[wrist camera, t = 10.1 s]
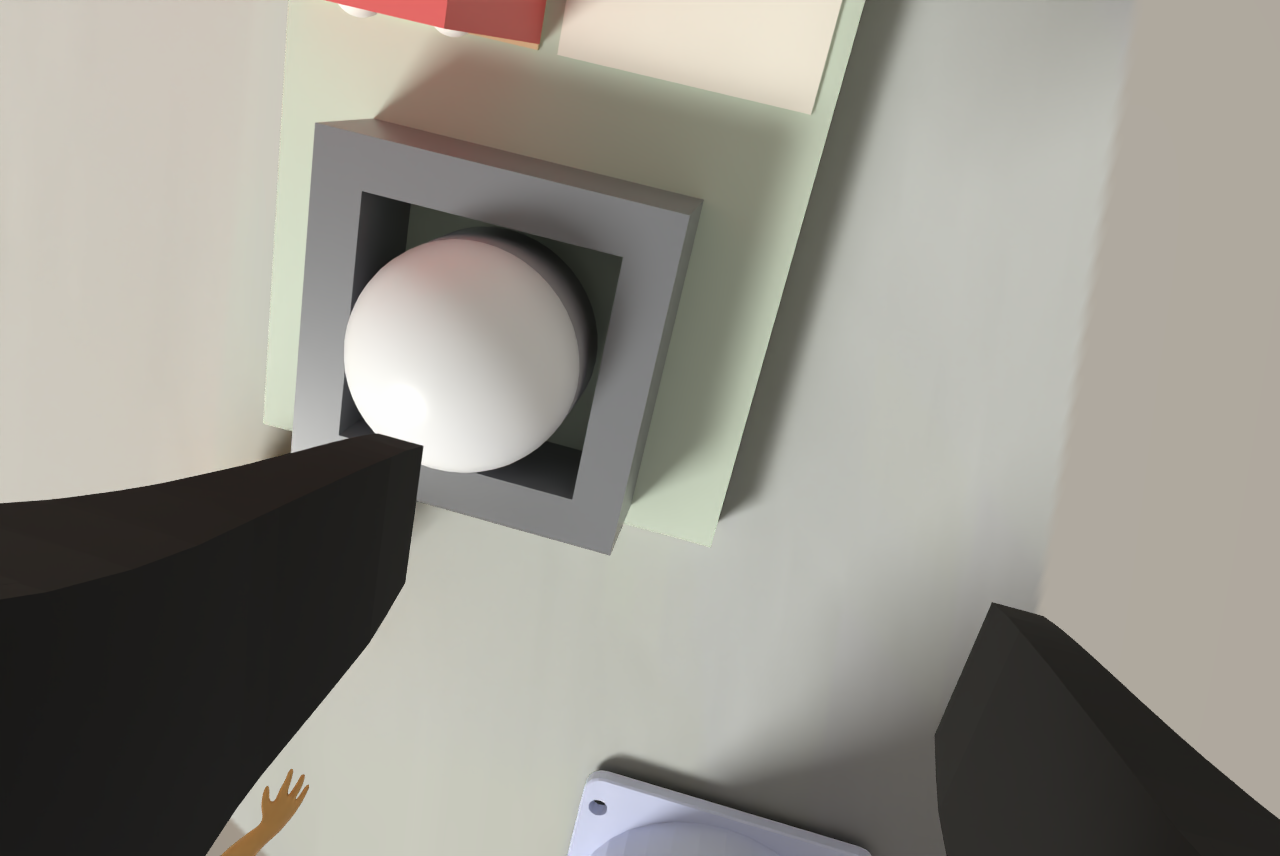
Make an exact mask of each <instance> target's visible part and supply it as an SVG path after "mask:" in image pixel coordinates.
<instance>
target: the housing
mask: <svg viewBox="0 0 1280 856" xmlns="http://www.w3.org/2000/svg"><path fill="white" fill-rule="evenodd" d="M703 202H704V200H703V199H699V198H695V197H691V196H687V195H682V194H678V193H674V192H670V191H666V190H662V189H658V188H654V187H650V186H646V185H642V184H638V183H634V182H630V181H626V180H622V179H618V178H613V177H609V176H605V175H601V174H597V173H593V172H589V171H585V170H581V169H577V168H573V167H569V166H565V165H561V164H557V163H553V162H549V161H544V160H540V159H536V158H532V157H528V156H524V155H520V154H516V153H512V152H508V151H504V150H500V149H496V148H492V147H488V146H484V145H480V144H475V143H471V142H467V141H463V140H459V139H455V138H451V137H447V136H443V135H439V134H435V133H431V132H427V131H423V130H419V129H415V128H411V127H407V126H402V125H398V124H394V123H390V122H386V121H382V120H378V119H374V118H372V119H357V120H343V121H329V122H315V130H314V144H313V158H312V171H311V185H310V198H309V212H308V226H307V239H306V253H305V267H304V280H303V294H302V307H301V321H300V335H299V348H298V362H297V376H296V389H295V403H294V416H293V430H292V444H291V453H293V452H297V451H301V450H305V449H308V448H312V447H316V446H320V445H324V444H328V443H331V442H335V441H340V440H344V439H348V438H353V437H357V436H363V435H369V434H375V433H374V431H373V430H372V429H371V428H370V426H369V425H368V424H367V423H366V421H365V420H364V418H363V417H362V415H361V413H360V412H359V410H358V408H357V406H356V404H355V402H354V400H353V398H352V395H351V392H350V389H349V387H348V383H347V378H346V374H345V365H344V340H345V334H346V328H347V325H348V321H349V318H350V315H351V312H352V310H353V308H354V306H355V303H356V301H357V299H358V297H359V295H360V294H361V292H362V291H363V289H364V288H365V286H366V285H367V284H368V282H369V281H370V280H371V279H372V278H373V277H374V276H375V275H376V273H377V272H378V271H379V270H380V269H381V268H382V267H384V266H385V265H386V264H387V263H389V262H390V261H391V260H392V259H394V258H396V257H397V256H399V255H401V254H403V253H404V252H405V250H406V242H407V233H408V224H409V216H410V207H411V204H415V205H419V206H423V207H427V208H431V209H435V210H439V211H442V212H446V213H450V214H454V215H458V216H462V217H466V218H470V219H474V220H478V221H482V222H486V223H490V224H494V225H498V226H502V227H506V228H510V229H514V230H518V231H521V232H525V233H529V234H533V235H537V236H541V237H545V238H549V239H553V240H557V241H561V242H565V243H569V244H573V245H577V246H581V247H585V248H589V249H593V250H596V251H600V252H604V253H608V254H612V255H616V256H620V257H623V260H622V265H621V270H620V275H619V279H618V284H617V289H616V294H615V298H614V303H613V308H612V313H611V317H610V322H609V327H608V332H607V336H606V341H605V346H604V351H603V356H602V360H601V365H600V370H599V375H598V379H597V384H596V389H595V394H594V398H593V403H592V408H591V413H590V417H589V422H588V427H587V432H586V437H585V441H584V446H583V451H581V450H577V449H574V448H570V447H566V446H563V445H559V444H555V443H552V442H548V441H545V442H544V443H543V444H542V445H541V446H540V447H539V448H537V449H536V450H534V451H533V452H531V453H530V454H528V455H527V456H525V457H523V458H521V459H520V460H517V461H515V462H513V463H511V464H509V465H506V466H503V467H500V468H497V469H492V470H487V471H481V472H473V473H458V472H448V471H442V470H438V469H433V468H429V467H427V466H424V465H421V469H420V477H419V484H418V491H417V499H416V501H417V502H421V503H425V504H428V505H432V506H435V507H439V508H442V509H446V510H450V511H453V512H457V513H460V514H464V515H467V516H471V517H475V518H478V519H482V520H485V521H489V522H492V523H496V524H500V525H503V526H507V527H510V528H514V529H517V530H521V531H525V532H528V533H532V534H535V535H539V536H542V537H546V538H549V539H553V540H557V541H560V542H564V543H567V544H571V545H574V546H578V547H582V548H585V549H589V550H592V551H596V552H599V553H603V554H607V555H611V552H612V550H613V548H614V545H615V543H616V540H617V538H618V535H619V533H620V531H621V528H622V526H623V523H624V521H625V519H626V516H627V514H628V511H629V509H630V507H631V503H632V499H633V495H634V491H635V486H636V482H637V478H638V474H639V470H640V465H641V461H642V457H643V453H644V449H645V445H646V440H647V436H648V432H649V428H650V424H651V419H652V415H653V411H654V407H655V403H656V398H657V394H658V390H659V386H660V382H661V378H662V373H663V369H664V365H665V361H666V357H667V352H668V348H669V344H670V340H671V336H672V331H673V327H674V323H675V319H676V315H677V311H678V306H679V302H680V298H681V294H682V290H683V285H684V281H685V277H686V273H687V269H688V264H689V260H690V256H691V252H692V248H693V244H694V239H695V235H696V231H697V227H698V223H699V218H700V214H701V210H702V206H703Z"/></svg>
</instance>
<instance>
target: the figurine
mask: <svg viewBox="0 0 1280 856" xmlns="http://www.w3.org/2000/svg"><path fill="white" fill-rule="evenodd" d="M292 774H293V769H290V771H289V772H288V775H287V777H286V779H285V781H284V783H283V785H282V787H281V789H280V791H279V793H278V795H277V797H276V799H275V801H273V802H272V801H270V799H269V787H268V786H266V788H265V790H264V793H263V797H262V815H263V818H262V821H261V823H260V824H259V825H258V826H257V827H256V828H255V829H253V830H252V831H250V832H249V833H247V834H246V835H245V836H243V837H242V838H241V839H239V840H238V841H237V842H236V843H234V844H233V845H232V846H231V847H229V848H228V849H227V850H226V851H225V852H224V853H223V854H222V855H221V856H255V855H256V854H257V853H258V852H259V851H260V849H261V848H262V847H263V846H264V845H265V844H266V843H267V842H268V841H270V840H271V839H272V838H273V837H274V836H275V835H276V834H277V833H279V831H280V830H281V829H282V828H283V827H284V826H285V825H286V823H287V822H288V821H289V820H290V819H291V817H292V816H293V815H294V813H295V812H296V810H297V809H298V807H299V806H300V804H301V803H302V801H303V799H304V797H305V795H306V793H307V791H308V788H309V785H307V786H306V787H305V788H304V789H303V791H302V793H301V794H300V796H299V797H298V798H297V799H296V796H297V794H298V793H299V791H300V789H301V787H302V784H303V781H304V777H305V775H304V774H303V775H301V777H300V778H299V780H298V782H297V783H296V785H295V787H294V788H293V790H292V791H291V793H290V794H289V795H288V788H289V785H290V782H291V779H292Z"/></svg>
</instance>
